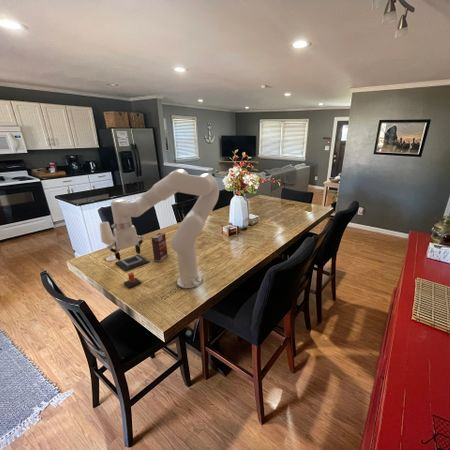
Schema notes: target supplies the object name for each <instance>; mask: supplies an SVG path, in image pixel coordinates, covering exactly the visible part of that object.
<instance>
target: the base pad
mask: <svg viewBox="0 0 450 450" xmlns="http://www.w3.org/2000/svg"><path fill="white" fill-rule="evenodd" d="M148 263H149V260H147V259H146V258H145V257H143V256H141V255H140V254H134V255H131V256H130V257H126V258H123V259H121V260H118V261H115V264H116V265H117V266H119V267H120V268H121V269H122V270H124V271H125V272H127V271H130V270H132V269H135V268H137V267H140V266H143V265H145V264H148Z"/></svg>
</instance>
